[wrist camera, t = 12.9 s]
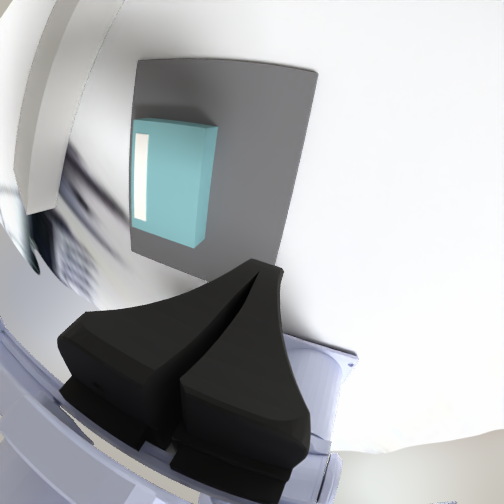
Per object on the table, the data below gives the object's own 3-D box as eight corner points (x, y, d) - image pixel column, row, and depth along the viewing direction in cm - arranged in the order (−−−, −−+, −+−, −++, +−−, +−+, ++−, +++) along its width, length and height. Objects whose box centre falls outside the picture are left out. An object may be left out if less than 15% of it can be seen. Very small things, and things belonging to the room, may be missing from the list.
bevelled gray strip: (41, 164, 31) (59, 206, 29) (13, 169, 27) (26, 215, 25) (135, -63, 12) (179, -69, 10) (102, -73, 8) (138, -87, 6)
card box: (193, 249, 21) (131, 227, 22) (204, 238, 23) (144, 218, 24) (205, 128, 17) (132, 120, 18) (218, 126, 18) (148, 117, 19)
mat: (266, 298, 24) (264, 301, 24) (134, 249, 27) (131, 251, 27) (318, 73, 15) (317, 73, 14) (141, 60, 18) (137, 60, 17)
